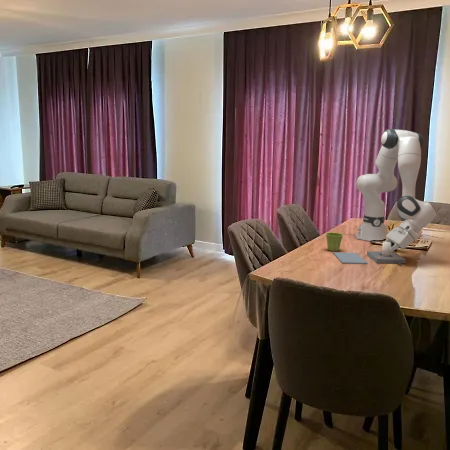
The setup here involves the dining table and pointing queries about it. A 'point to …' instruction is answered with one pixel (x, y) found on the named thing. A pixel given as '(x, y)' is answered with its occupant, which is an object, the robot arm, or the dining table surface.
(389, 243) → the white rounded cylinder
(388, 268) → the dining table surface
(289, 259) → the dining table surface
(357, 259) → the rubber mat
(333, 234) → the plant pot
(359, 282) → the dining table surface
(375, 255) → the grey square frame
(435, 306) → the dining table surface
